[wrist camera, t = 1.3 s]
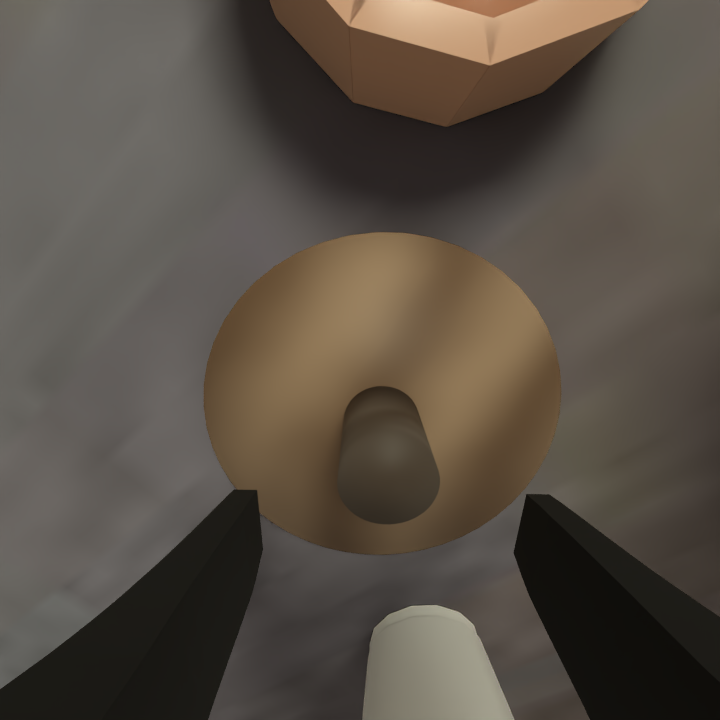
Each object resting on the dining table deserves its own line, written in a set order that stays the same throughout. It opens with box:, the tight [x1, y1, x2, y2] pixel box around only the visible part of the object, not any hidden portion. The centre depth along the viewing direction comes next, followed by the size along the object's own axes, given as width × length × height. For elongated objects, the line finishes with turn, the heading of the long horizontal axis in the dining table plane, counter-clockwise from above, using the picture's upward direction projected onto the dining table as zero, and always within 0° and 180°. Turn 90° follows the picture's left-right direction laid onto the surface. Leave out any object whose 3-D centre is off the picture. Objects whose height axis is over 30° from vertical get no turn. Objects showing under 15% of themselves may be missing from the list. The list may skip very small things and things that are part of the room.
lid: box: [204, 232, 561, 555], centre depth 13 cm, size 15×15×5 cm
